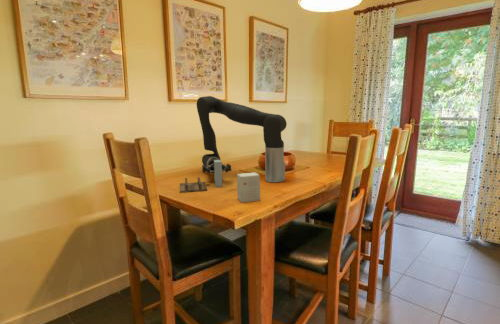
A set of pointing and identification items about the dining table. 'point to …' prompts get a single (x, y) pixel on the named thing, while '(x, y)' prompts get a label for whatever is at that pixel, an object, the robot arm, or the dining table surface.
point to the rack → (192, 186)
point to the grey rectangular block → (218, 173)
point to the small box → (248, 187)
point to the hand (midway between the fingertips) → (218, 170)
